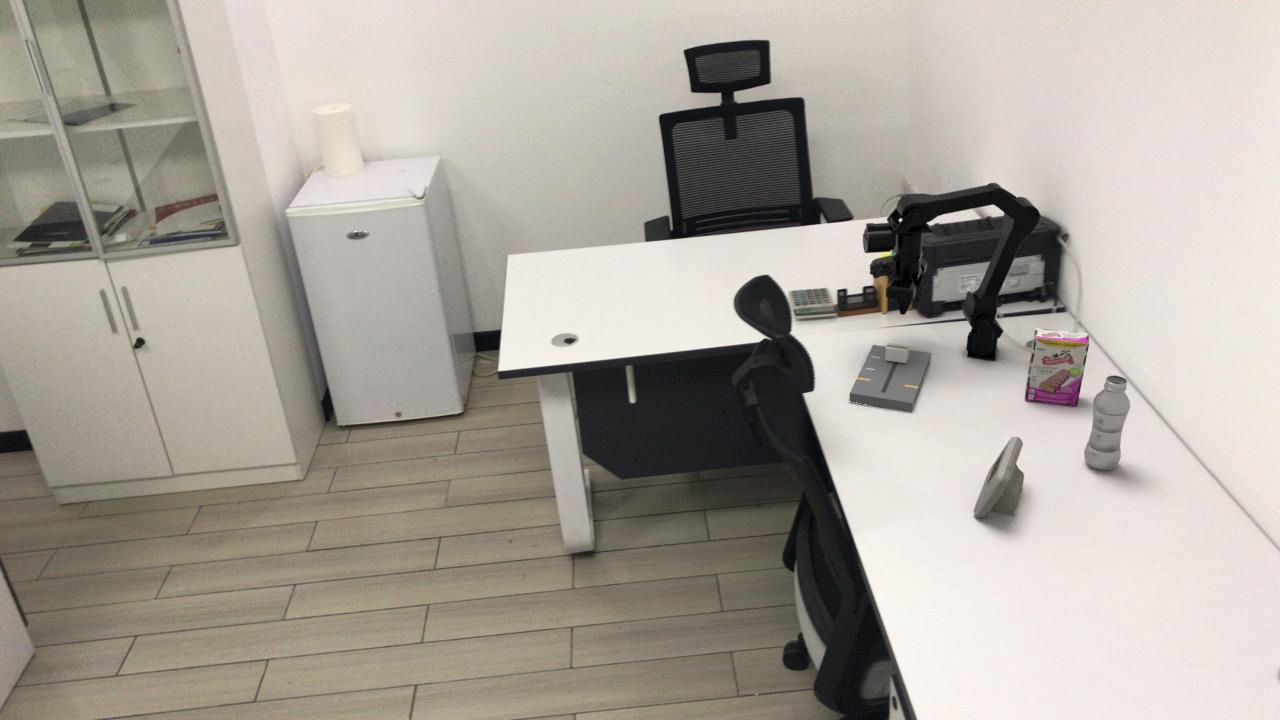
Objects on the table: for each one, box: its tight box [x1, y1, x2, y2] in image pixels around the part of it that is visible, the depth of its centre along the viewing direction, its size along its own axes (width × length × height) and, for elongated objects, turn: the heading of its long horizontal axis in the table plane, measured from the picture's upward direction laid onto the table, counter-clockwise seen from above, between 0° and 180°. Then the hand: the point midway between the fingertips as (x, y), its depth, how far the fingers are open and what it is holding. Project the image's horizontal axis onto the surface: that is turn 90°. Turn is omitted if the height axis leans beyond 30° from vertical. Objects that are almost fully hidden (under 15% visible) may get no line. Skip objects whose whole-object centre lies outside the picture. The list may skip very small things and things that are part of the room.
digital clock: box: [973, 436, 1025, 519], centre depth 192 cm, size 16×9×11 cm, turn 140°
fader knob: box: [885, 342, 910, 363], centre depth 237 cm, size 5×3×3 cm, turn 66°
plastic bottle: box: [1083, 374, 1131, 471], centre depth 197 cm, size 6×7×20 cm
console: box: [848, 344, 932, 413], centre depth 234 cm, size 14×24×2 cm, turn 156°
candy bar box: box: [1024, 327, 1090, 407], centre depth 220 cm, size 11×5×16 cm, turn 71°
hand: (904, 310), depth 238 cm, fingers open, 4 cm apart
